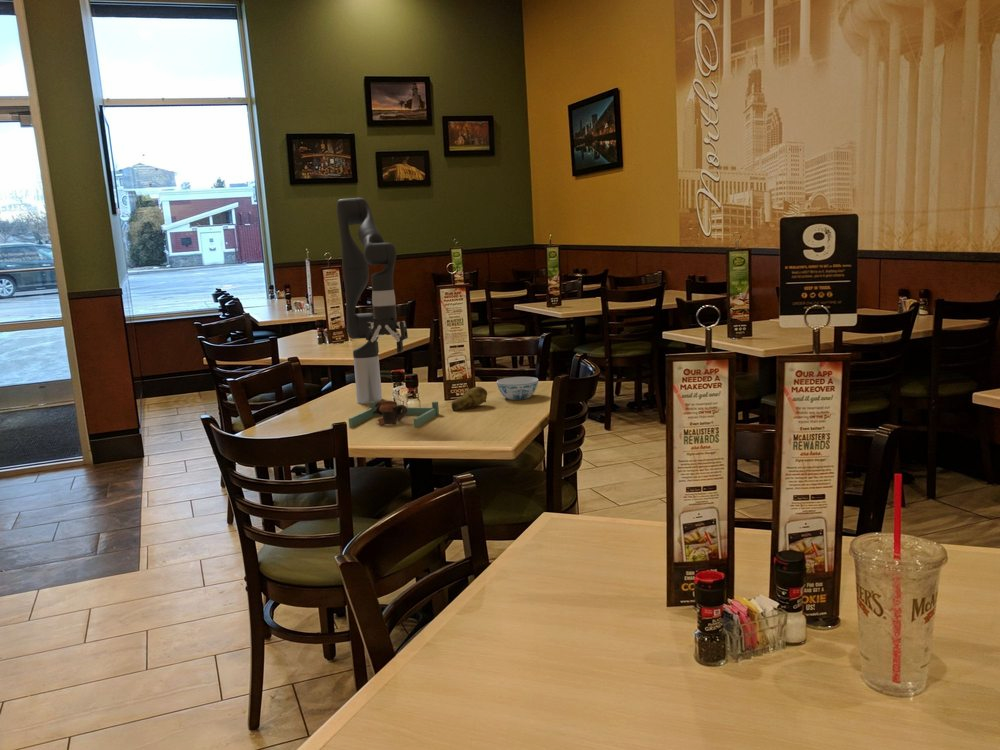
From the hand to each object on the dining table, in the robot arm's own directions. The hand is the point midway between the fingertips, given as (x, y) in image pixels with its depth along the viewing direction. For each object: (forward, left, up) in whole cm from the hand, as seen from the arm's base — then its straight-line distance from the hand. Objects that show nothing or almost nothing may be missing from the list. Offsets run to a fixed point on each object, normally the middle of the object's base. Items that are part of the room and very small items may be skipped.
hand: (387, 352), depth 277 cm
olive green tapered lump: (-16, +22, -23) cm, 35 cm away
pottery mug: (+7, +3, -24) cm, 25 cm away
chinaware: (-32, +35, -23) cm, 52 cm away
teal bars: (+3, +2, -23) cm, 23 cm away
